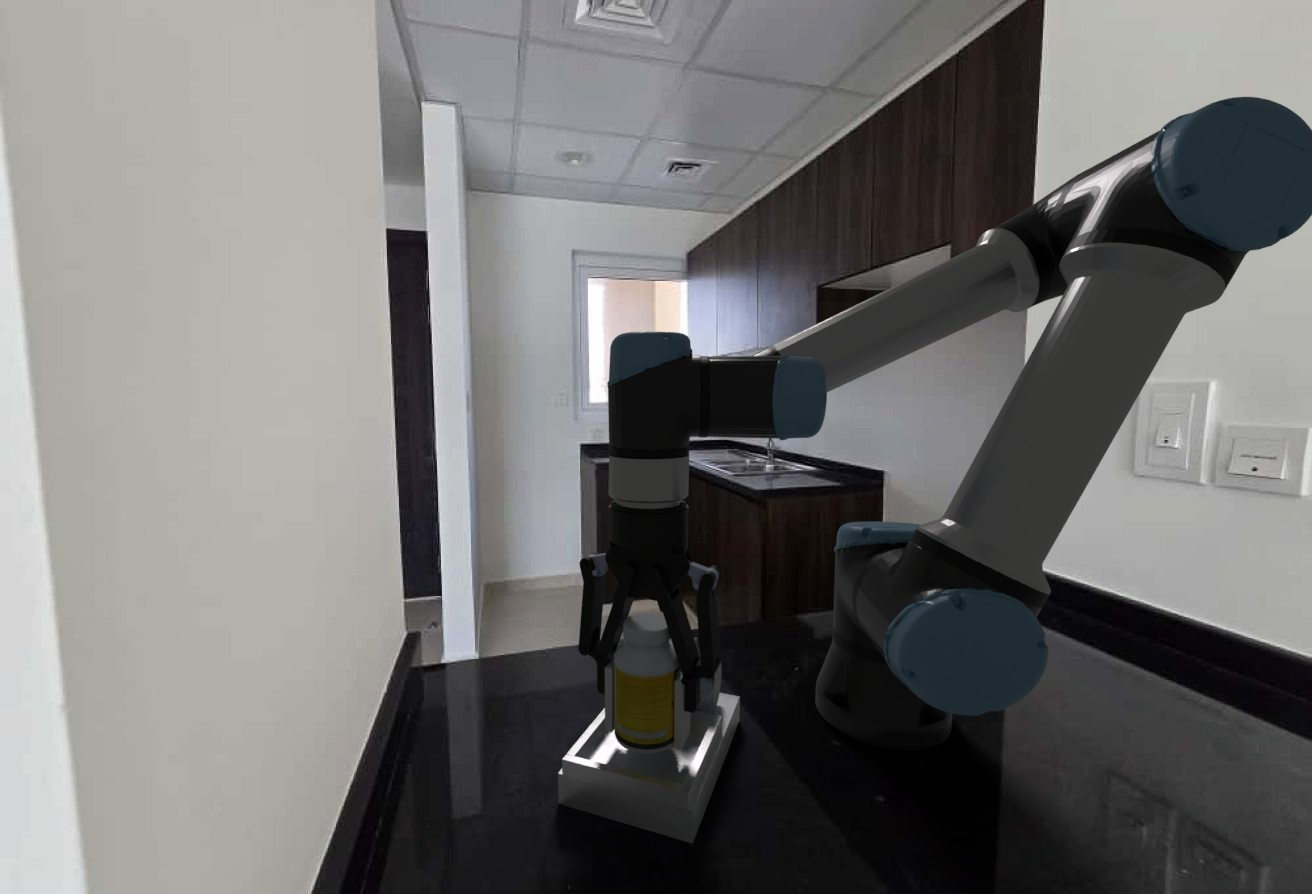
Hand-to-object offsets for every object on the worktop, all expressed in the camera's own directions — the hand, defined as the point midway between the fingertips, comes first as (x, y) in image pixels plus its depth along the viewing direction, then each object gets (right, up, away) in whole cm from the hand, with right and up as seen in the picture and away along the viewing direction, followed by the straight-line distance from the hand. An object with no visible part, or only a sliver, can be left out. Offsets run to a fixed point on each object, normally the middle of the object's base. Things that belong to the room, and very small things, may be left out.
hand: (647, 731), depth 55 cm
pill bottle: (0, -1, 0) cm, 1 cm away
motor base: (+1, -5, +4) cm, 6 cm away
